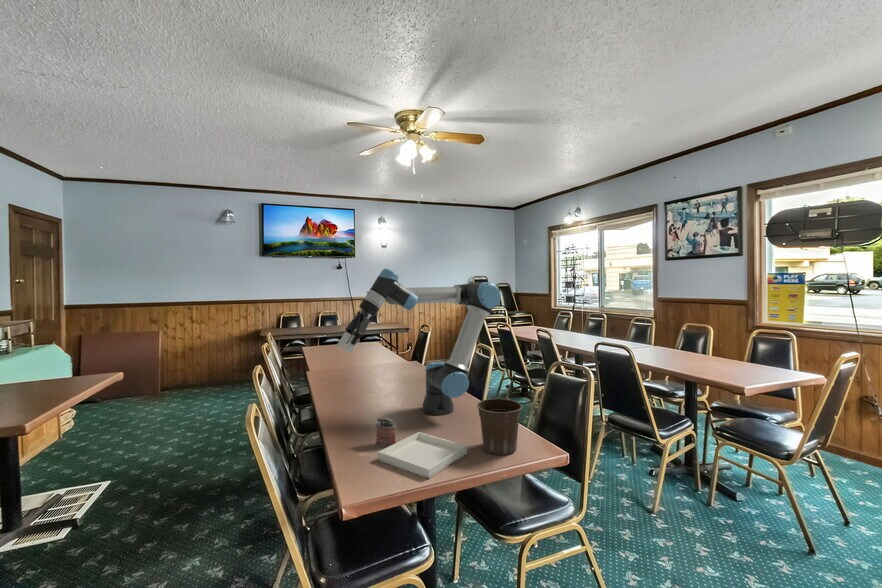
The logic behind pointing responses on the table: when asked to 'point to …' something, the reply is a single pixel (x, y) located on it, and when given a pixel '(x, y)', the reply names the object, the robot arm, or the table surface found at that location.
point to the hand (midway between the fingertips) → (343, 349)
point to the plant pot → (499, 425)
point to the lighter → (385, 432)
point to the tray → (422, 454)
